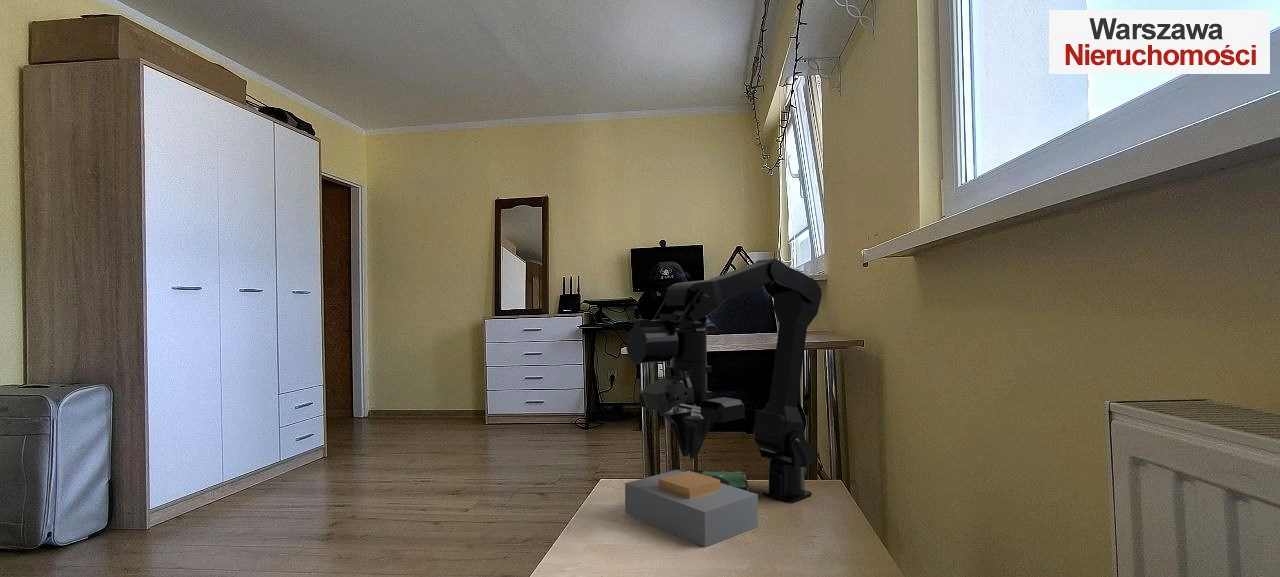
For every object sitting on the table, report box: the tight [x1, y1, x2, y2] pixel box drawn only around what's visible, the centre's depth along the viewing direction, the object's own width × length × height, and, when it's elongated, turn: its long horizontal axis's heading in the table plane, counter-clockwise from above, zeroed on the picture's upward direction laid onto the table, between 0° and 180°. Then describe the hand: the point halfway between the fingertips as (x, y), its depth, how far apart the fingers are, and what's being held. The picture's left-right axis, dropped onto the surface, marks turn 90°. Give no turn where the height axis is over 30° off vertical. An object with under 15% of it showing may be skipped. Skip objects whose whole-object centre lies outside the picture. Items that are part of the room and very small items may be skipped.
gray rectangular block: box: [624, 469, 759, 548], centre depth 97 cm, size 12×18×5 cm, turn 41°
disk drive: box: [668, 469, 749, 491], centre depth 113 cm, size 10×3×15 cm
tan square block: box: [658, 471, 720, 499], centre depth 97 cm, size 7×7×6 cm
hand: (689, 457), depth 97 cm, fingers closed
